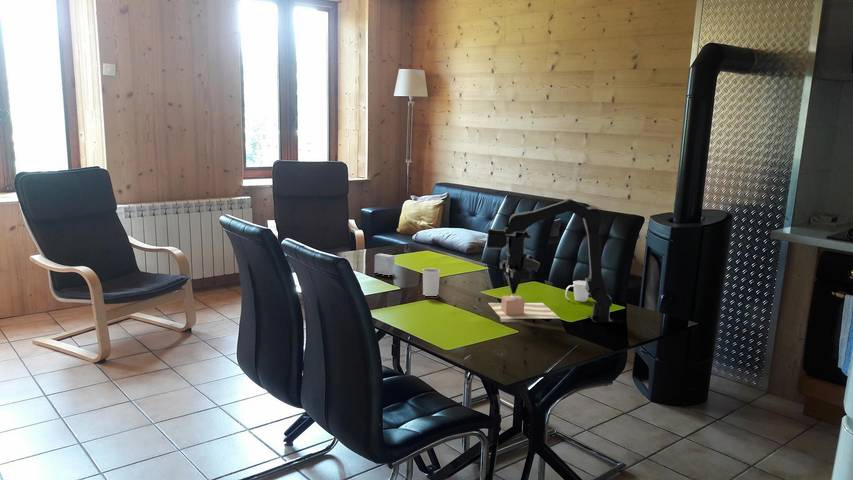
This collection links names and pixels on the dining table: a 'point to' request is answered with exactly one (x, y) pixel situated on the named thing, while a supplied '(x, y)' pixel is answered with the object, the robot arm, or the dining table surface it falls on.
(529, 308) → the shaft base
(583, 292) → the cup
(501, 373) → the dining table surface
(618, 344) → the dining table surface
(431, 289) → the drinking glass
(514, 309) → the pink block
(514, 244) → the robot arm
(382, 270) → the medicine box
